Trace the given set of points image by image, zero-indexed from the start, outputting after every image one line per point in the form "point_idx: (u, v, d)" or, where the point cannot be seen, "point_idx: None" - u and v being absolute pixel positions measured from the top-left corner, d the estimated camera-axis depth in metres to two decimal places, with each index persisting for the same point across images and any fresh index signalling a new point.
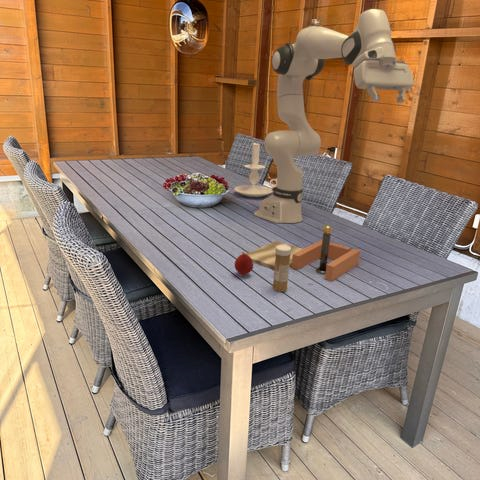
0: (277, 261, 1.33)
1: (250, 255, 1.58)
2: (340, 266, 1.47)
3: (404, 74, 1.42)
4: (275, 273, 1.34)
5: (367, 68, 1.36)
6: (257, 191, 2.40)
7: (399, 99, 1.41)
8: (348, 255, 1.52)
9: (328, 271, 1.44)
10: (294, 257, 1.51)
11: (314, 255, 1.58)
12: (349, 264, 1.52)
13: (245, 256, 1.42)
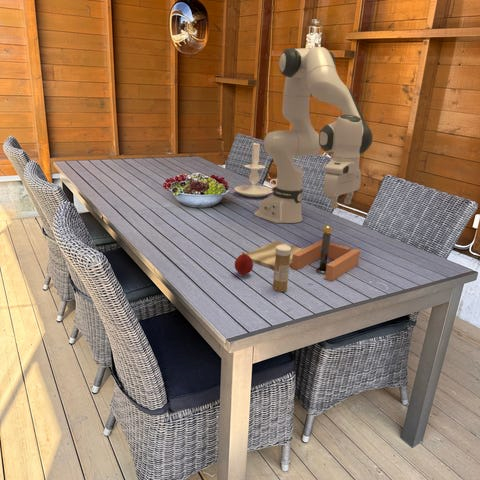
0: (277, 261, 1.33)
1: (250, 255, 1.58)
2: (340, 266, 1.47)
3: (356, 180, 1.58)
4: (275, 273, 1.34)
5: (338, 182, 1.47)
6: (257, 191, 2.40)
7: (347, 202, 1.59)
8: (348, 255, 1.52)
9: (328, 271, 1.44)
10: (294, 257, 1.51)
11: (314, 255, 1.58)
12: (349, 264, 1.52)
13: (245, 256, 1.42)
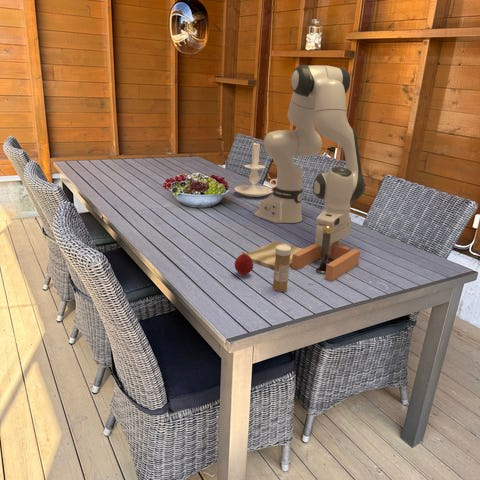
0: (277, 261, 1.33)
1: (250, 255, 1.58)
2: (340, 266, 1.47)
3: (347, 227, 1.64)
4: (275, 273, 1.34)
5: None
6: (257, 191, 2.40)
7: None
8: (347, 255, 1.52)
9: (328, 271, 1.44)
10: (294, 257, 1.51)
11: (314, 254, 1.58)
12: (349, 264, 1.52)
13: (245, 256, 1.42)
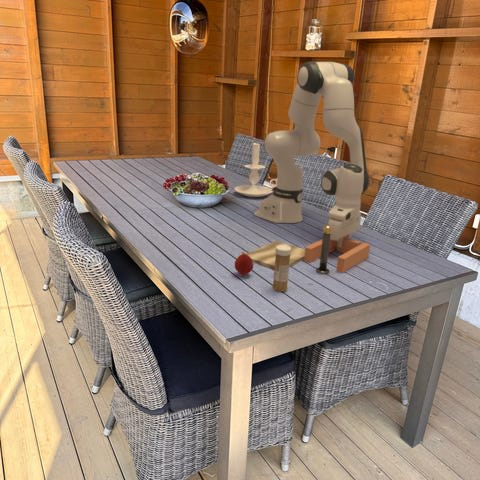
0: (277, 261, 1.33)
1: (250, 255, 1.58)
2: (351, 258, 1.53)
3: (357, 221, 1.71)
4: (275, 273, 1.34)
5: (340, 227, 1.60)
6: (257, 191, 2.40)
7: None
8: (358, 248, 1.59)
9: (340, 263, 1.51)
10: (307, 250, 1.58)
11: None
12: (359, 257, 1.59)
13: (245, 256, 1.42)
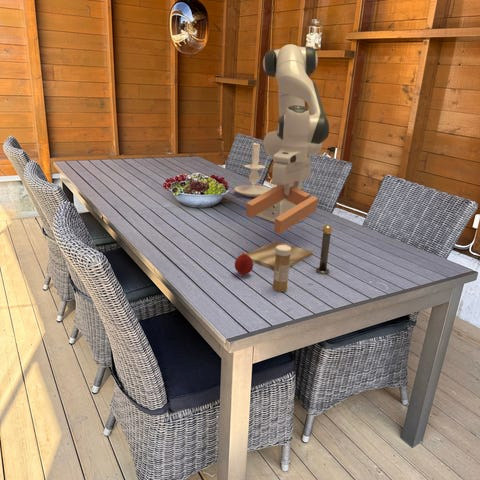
0: (277, 261, 1.33)
1: (250, 255, 1.58)
2: (290, 218, 1.49)
3: (306, 168, 1.64)
4: (275, 273, 1.34)
5: (285, 170, 1.53)
6: (257, 191, 2.40)
7: None
8: (302, 205, 1.53)
9: (277, 225, 1.47)
10: (248, 206, 1.53)
11: (272, 200, 1.59)
12: (302, 214, 1.53)
13: (245, 256, 1.42)
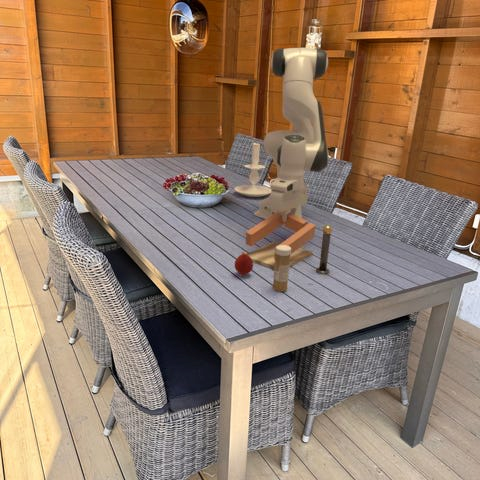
0: (277, 261, 1.33)
1: (250, 255, 1.58)
2: None
3: (303, 195, 1.67)
4: (275, 273, 1.34)
5: (283, 199, 1.56)
6: (257, 191, 2.40)
7: None
8: (300, 233, 1.56)
9: None
10: (247, 235, 1.56)
11: (270, 227, 1.62)
12: (301, 241, 1.56)
13: (245, 256, 1.42)
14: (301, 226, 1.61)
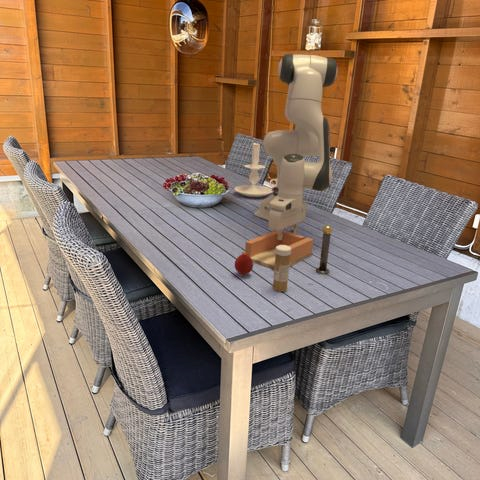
0: (277, 261, 1.33)
1: None
2: None
3: (301, 212, 1.70)
4: (275, 273, 1.34)
5: (281, 217, 1.58)
6: (257, 191, 2.40)
7: (292, 232, 1.71)
8: (299, 243, 1.58)
9: None
10: (247, 244, 1.56)
11: (268, 243, 1.64)
12: (300, 252, 1.57)
13: (245, 256, 1.42)
14: (299, 241, 1.64)
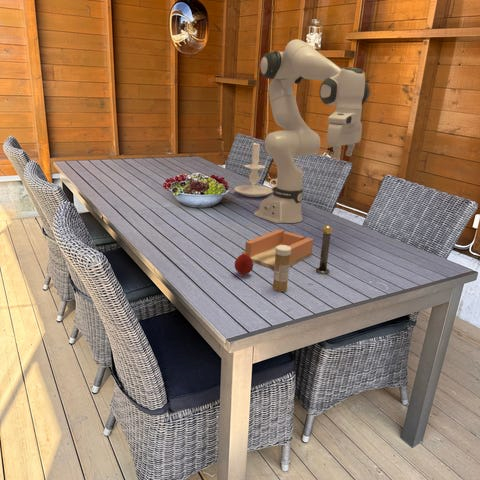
0: (277, 261, 1.33)
1: None
2: None
3: (358, 132, 1.64)
4: (275, 273, 1.34)
5: (341, 132, 1.53)
6: (257, 191, 2.40)
7: (348, 154, 1.65)
8: (299, 243, 1.58)
9: None
10: (247, 244, 1.56)
11: (268, 243, 1.64)
12: (300, 252, 1.57)
13: (245, 256, 1.42)
14: (299, 241, 1.64)
